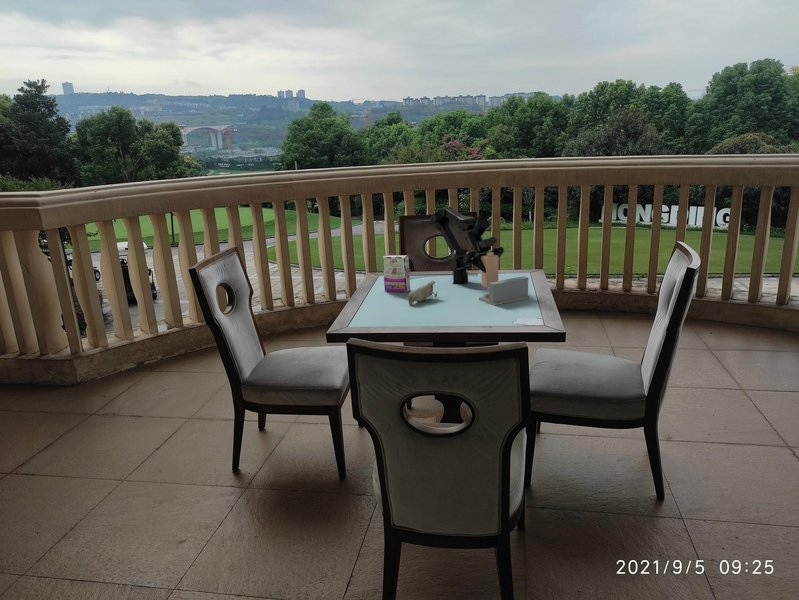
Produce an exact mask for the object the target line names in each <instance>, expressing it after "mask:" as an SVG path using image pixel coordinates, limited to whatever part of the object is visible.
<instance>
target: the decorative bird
mask: <svg viewBox="0 0 799 600" xmlns="http://www.w3.org/2000/svg"><path fill="white" fill-rule="evenodd" d="M435 283H436V281H435V280H431V281H429V282H428V283H426V284H424V285H421V286H419V287H418V288H416V289H414V290H411V291H410V292H409V294H408V295H407V296H408V297H407V300H408V304H409V306H412V305H413V304H414V302H417V303H419V302H424V301H426V300H427V299H428V298H430V297H432V296H433V295H434V297H435V298H437V297H438V294H437V291H436V293H434V285H435Z"/></svg>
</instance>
